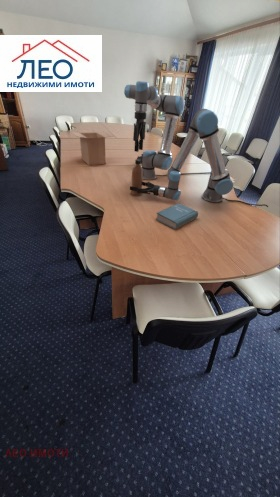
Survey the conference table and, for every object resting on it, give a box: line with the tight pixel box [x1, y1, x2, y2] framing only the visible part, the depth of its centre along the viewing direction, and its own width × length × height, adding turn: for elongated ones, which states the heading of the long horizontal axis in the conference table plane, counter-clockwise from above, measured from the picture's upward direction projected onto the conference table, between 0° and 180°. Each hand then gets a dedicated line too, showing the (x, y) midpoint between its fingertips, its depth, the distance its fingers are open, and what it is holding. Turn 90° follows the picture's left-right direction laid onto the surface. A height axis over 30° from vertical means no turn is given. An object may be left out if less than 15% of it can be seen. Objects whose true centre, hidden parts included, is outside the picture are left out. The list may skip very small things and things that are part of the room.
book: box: [155, 203, 199, 230], centre depth 142 cm, size 23×16×5 cm
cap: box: [134, 158, 142, 165], centre depth 158 cm, size 4×4×2 cm
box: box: [70, 129, 114, 166], centre depth 229 cm, size 44×36×27 cm
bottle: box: [130, 164, 143, 197], centre depth 165 cm, size 8×8×25 cm
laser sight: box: [136, 153, 143, 164], centre depth 240 cm, size 10×22×10 cm, turn 78°
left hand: (138, 150), depth 154 cm, fingers open, 6 cm apart
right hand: (133, 185), depth 169 cm, fingers open, 13 cm apart
